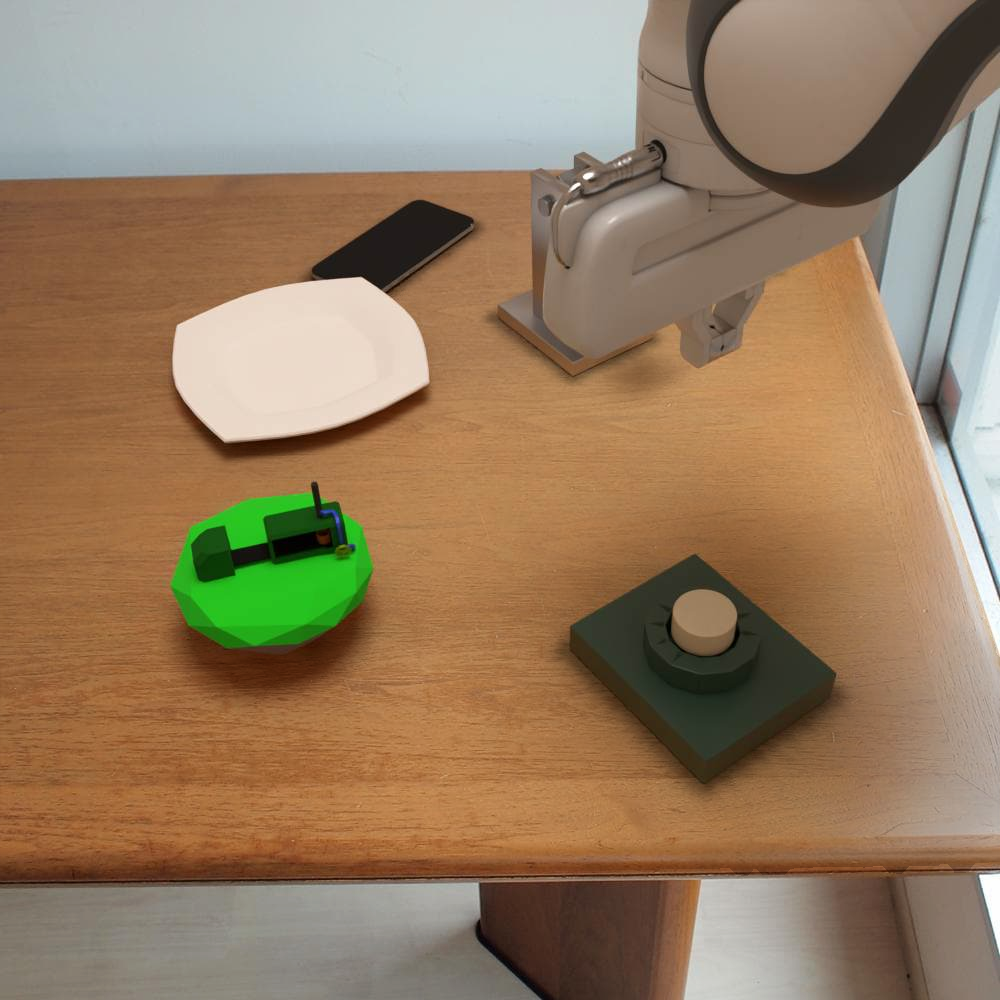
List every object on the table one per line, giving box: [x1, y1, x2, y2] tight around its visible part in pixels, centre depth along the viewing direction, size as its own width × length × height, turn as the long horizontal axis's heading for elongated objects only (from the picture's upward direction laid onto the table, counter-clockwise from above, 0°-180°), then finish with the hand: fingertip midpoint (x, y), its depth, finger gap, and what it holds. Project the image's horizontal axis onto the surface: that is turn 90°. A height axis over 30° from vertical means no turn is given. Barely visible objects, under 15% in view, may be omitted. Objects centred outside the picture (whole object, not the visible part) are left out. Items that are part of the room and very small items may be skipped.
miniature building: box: [169, 481, 374, 656], centre depth 73 cm, size 12×12×11 cm
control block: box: [569, 552, 837, 785], centre depth 71 cm, size 12×10×4 cm
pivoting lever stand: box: [497, 151, 653, 377], centre depth 94 cm, size 10×8×14 cm
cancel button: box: [671, 589, 737, 656], centre depth 69 cm, size 4×4×2 cm
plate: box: [171, 277, 430, 444], centre depth 95 cm, size 19×19×2 cm
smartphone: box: [311, 199, 475, 293], centre depth 107 cm, size 7×1×15 cm
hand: (710, 353), depth 66 cm, fingers closed
